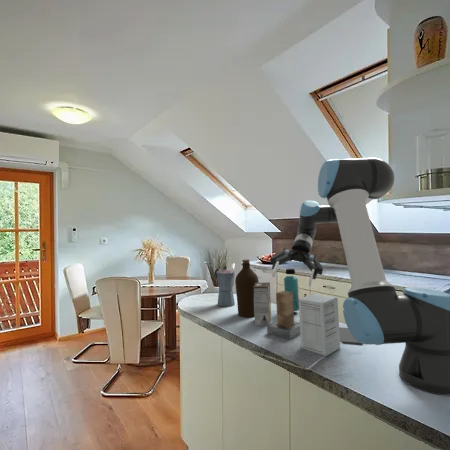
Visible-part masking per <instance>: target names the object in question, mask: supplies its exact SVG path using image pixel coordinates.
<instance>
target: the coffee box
mask: <svg viewBox="0 0 450 450" xmlns="http://www.w3.org/2000/svg"><path fill="white" fill-rule="evenodd" d="M253 295H254V316H255V317H254V325H255V326H267V325H269V324H271V322H272V302H271V283H270V282H269V281H268V282H259V283H255V285H254V287H253Z"/></svg>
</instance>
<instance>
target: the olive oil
mask: <svg viewBox="0 0 450 450" xmlns="http://www.w3.org/2000/svg"><path fill="white" fill-rule="evenodd" d="M241 265H242V268H241V270H240V271H239V272H238V273H237V274H236V277H235V279H234V284H235V293H236V294H235V295H236V303H237V314H238V316H239V317H241V318H253V317H254V318H255V316H254V295H253V287H254V285H255V283H260V281H259V278H258V275H257V274H256V272H255V271H253V270H252V268H251V267H250V266H251V263H250V259H242V263H241Z"/></svg>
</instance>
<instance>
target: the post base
mask: <svg viewBox="0 0 450 450" xmlns="http://www.w3.org/2000/svg"><path fill="white" fill-rule="evenodd" d="M266 332H267V334H268V335H271V336H275V337H279V338H283V339H286V340H290V341H291V340H292V339H294V338H296V337H297V336H299V335H300V321H295V320H294V325H293V326H291V327H289V328H286V327H281V326H278V324H277V320H276V321H274V322H272V323H270V324H269V325H266Z"/></svg>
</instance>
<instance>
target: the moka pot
mask: <svg viewBox="0 0 450 450" xmlns="http://www.w3.org/2000/svg"><path fill="white" fill-rule="evenodd" d="M223 268H224V269H220V268H218V267H217V268H216V270H215V272H214V274H215V275H214V276H215V280H216V284H217V285H216V286H218V296H217V306H219V307H222V306H230V307H233V306H235V304H236V303H235V297H234V291H233V289H234V284H235V275H236V272H235V270H233V269H227V268H228V267H227V266H226V265H225V266H223ZM232 305H233V306H232Z"/></svg>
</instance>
